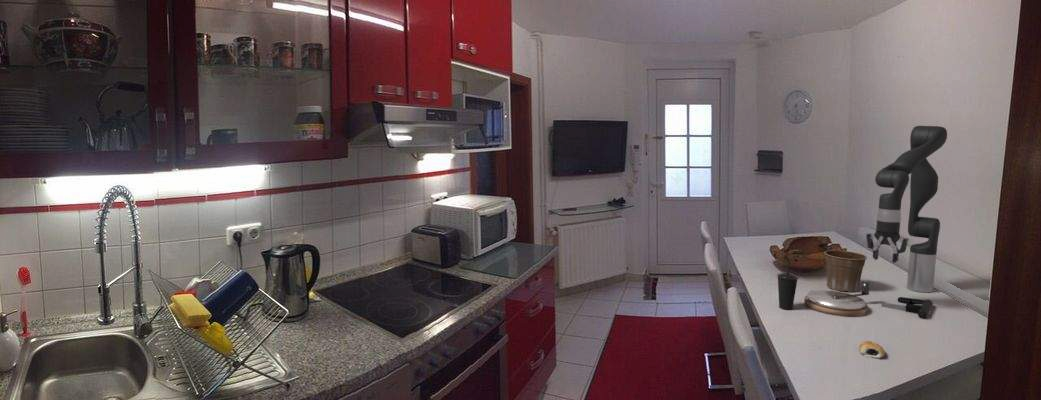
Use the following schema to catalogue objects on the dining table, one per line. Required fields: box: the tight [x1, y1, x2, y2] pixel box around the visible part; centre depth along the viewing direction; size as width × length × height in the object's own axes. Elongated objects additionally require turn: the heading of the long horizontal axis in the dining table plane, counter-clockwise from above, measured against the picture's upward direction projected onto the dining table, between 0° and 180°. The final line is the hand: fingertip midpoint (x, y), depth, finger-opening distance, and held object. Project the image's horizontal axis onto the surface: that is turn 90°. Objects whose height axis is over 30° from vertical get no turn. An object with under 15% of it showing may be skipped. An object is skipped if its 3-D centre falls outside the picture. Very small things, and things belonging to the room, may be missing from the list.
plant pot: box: [824, 249, 868, 293], centre depth 221 cm, size 16×16×16 cm
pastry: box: [858, 340, 886, 359], centre depth 157 cm, size 9×7×4 cm
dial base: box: [803, 295, 869, 318], centre depth 199 cm, size 22×22×2 cm
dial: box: [806, 281, 871, 310], centre depth 199 cm, size 26×20×7 cm
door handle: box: [881, 296, 934, 319], centre depth 196 cm, size 3×20×16 cm
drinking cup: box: [776, 260, 799, 311], centre depth 197 cm, size 8×8×20 cm
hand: (885, 260), depth 195 cm, fingers open, 5 cm apart
